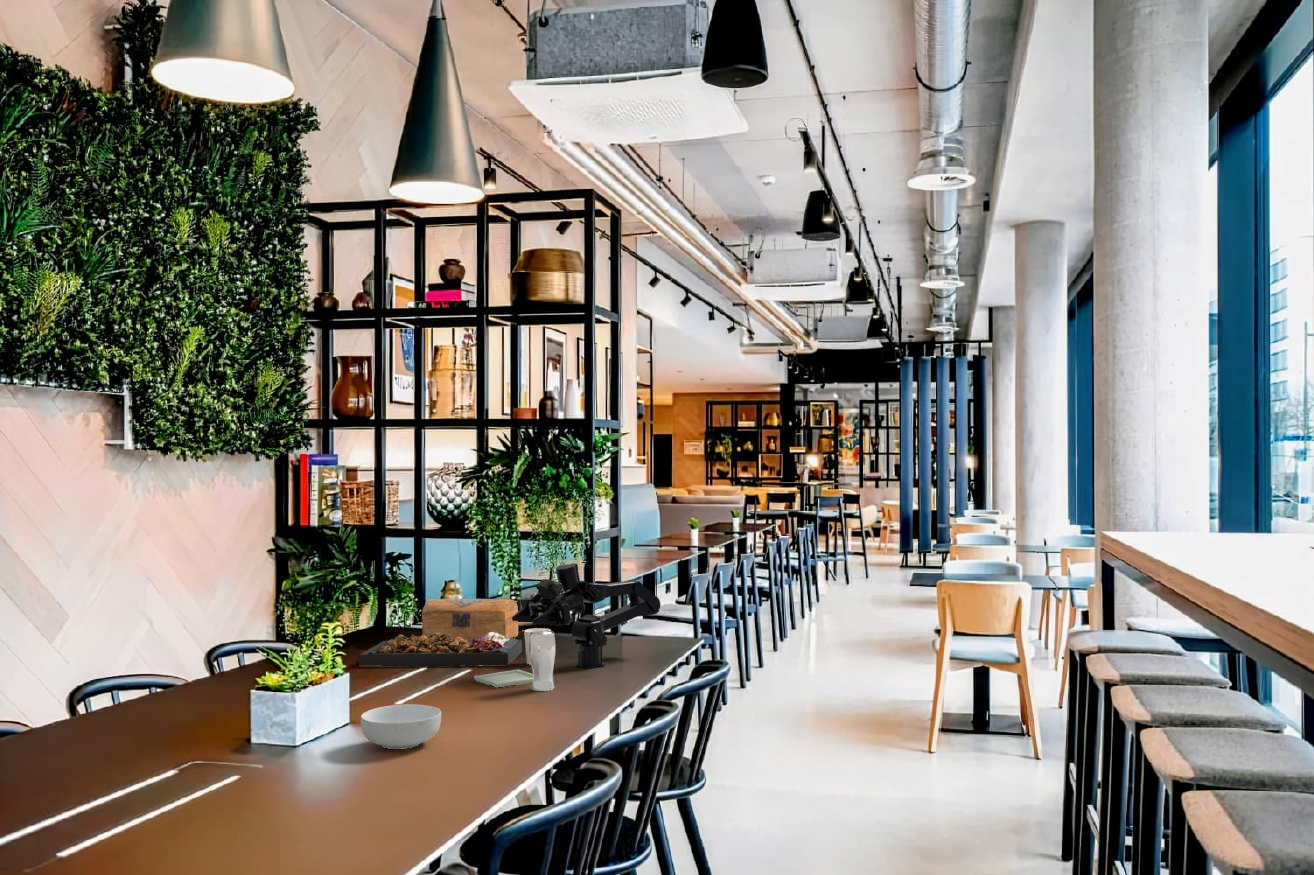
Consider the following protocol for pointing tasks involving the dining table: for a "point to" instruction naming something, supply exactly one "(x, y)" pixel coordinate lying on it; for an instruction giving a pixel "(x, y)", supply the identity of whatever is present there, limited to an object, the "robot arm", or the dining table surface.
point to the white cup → (527, 641)
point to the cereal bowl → (400, 725)
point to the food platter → (443, 651)
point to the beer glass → (542, 659)
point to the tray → (505, 678)
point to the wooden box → (470, 617)
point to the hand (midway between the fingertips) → (522, 620)
